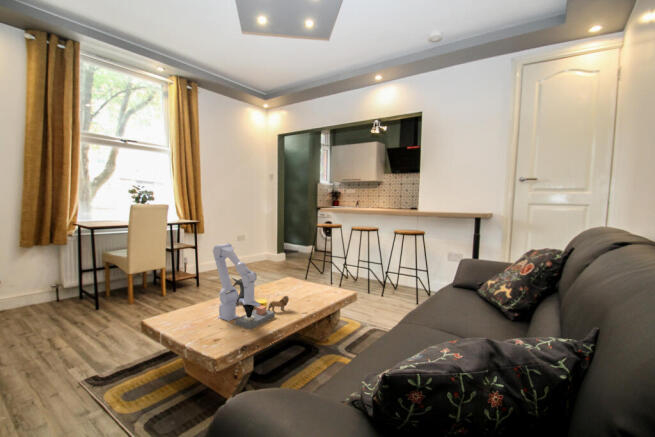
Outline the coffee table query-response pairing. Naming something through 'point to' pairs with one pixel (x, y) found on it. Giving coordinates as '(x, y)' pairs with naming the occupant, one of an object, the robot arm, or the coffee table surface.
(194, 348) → the coffee table surface
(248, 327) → the button housing
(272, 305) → the lion figurine
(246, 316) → the cream cube
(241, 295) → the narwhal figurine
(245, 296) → the robot arm
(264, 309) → the salmon pink block
